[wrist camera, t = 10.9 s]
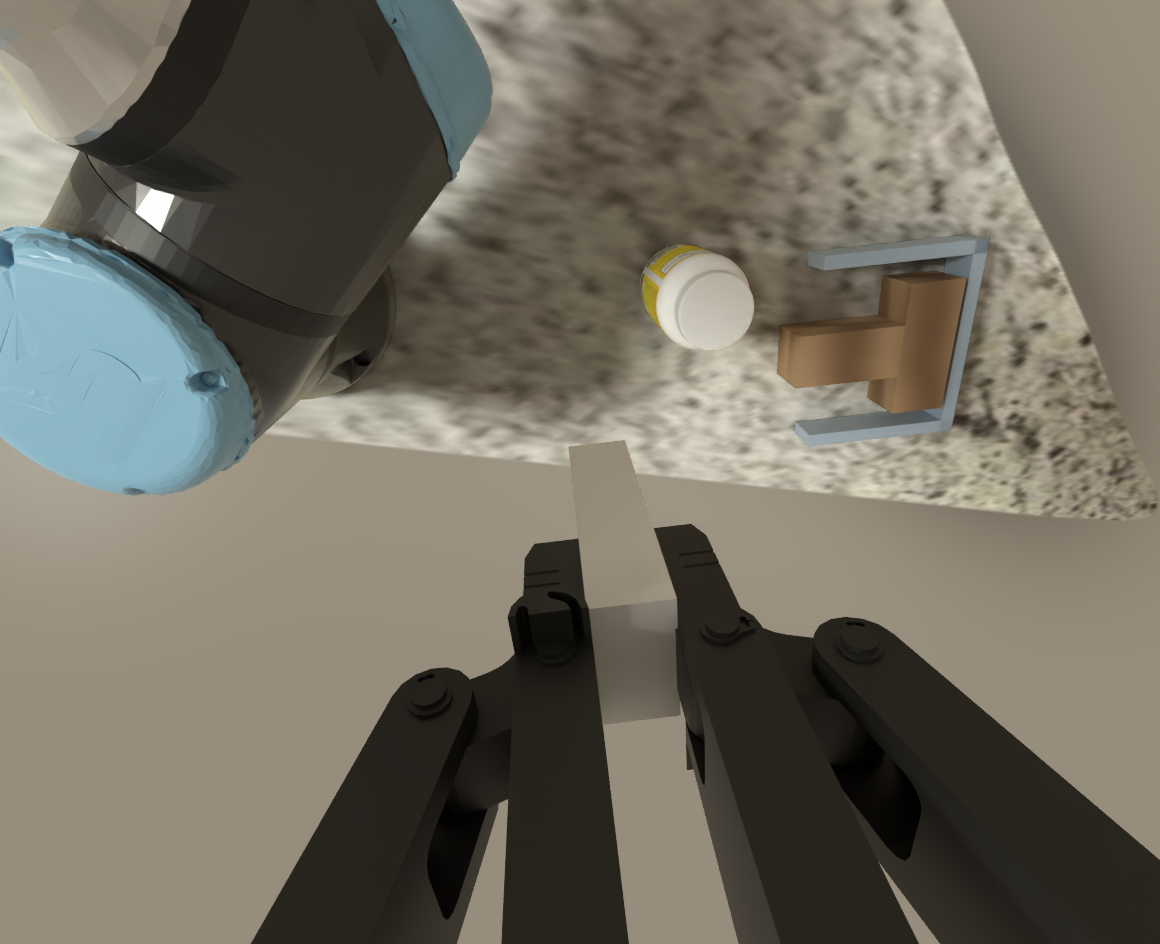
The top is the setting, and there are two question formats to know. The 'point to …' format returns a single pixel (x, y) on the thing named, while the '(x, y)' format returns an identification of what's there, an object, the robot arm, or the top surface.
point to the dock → (969, 263)
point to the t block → (883, 344)
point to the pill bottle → (697, 297)
